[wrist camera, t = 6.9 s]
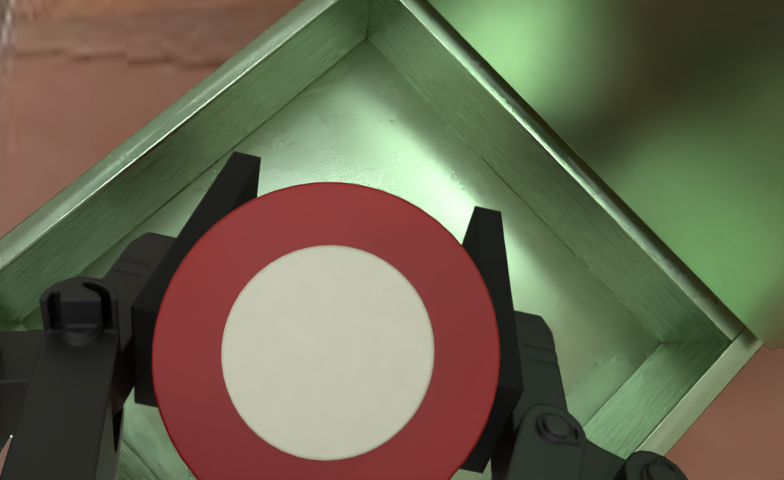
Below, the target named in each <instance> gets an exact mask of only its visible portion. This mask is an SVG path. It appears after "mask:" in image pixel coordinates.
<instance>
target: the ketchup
mask: <svg viewBox="0 0 784 480" xmlns="http://www.w3.org/2000/svg"><path fill="white" fill-rule="evenodd" d="M499 367H500V342H499V330H498V325H497V320H496V315H495V310H494V307H493V304H492V301H491V298H490V295H489V291H488V289H487V287H486V285H485V282H484V280H483V278H482V276H481V274H480V272H479V270H478V268H477V267H476V265H475V263H474V262H473V260H472V259H471V257H470V256H469V254H468V252H467V251H466V250H465V249H464V247H463V246H462V245H461V244H460V243H459V241H458V240H457V239H456V238H455V237H454V235H453V234H452V233H451V232H449V231H448V230H447V229H446V228H445V227H444V226H443V225H442V224H441V223H440V222H439V221H438V220H436V219H435V218H434V217H432V216H431V215H429V214H428V213H427V212H425V211H424V210H422V209H421V208H420V207H418V206H416V205H414V204H412V203H410V202H409V201H407V200H405V199H403V198H401V197H399V196H396V195H394V194H391V193H388V192H386V191H383V190H381V189H377V188H373V187H368V186H364V185H360V184H352V183H344V182H313V183H306V184H299V185H293V186H289V187H286V188H282V189H278V190H274V191H272V192H269V193H267V194H264V195H262V196H259V197H257V198H255V199H252V200H251V201H249V202H247V203H245V204H244V205H242V206H240V207H238V208H236V209H235V210H233V211H232V212H230V213H229V214H228V215H226V216H225V217H224V218H222V219H221V220H220V221H218V222H217V223H216V224H215V225H213V226H212V227H211V228H210V229H209V230H208V231H207V232H206V233H205V234H204V235H203V236H202V237H201V238H200V239H199V240H198V241H197V243H196V244H195V245H194V246H193V247H192V249H191V250H190V251H189V252H188V254H187V255H186V256H185V257H184V259H183V261H182V262H181V264H180V266H179V267H178V269H177V270H176V272H175V274H174V275H173V277H172V279H171V281H170V284H169V286H168V288H167V290H166V293H165V295H164V297H163V300H162V303H161V306H160V310H159V313H158V316H157V320H156V325H155V331H154V337H153V343H152V376H153V386H154V393H155V397H156V401H157V406H158V410H159V414H160V417H161V419H162V422H163V424H164V427H165V429H166V432H167V434H168V437H169V439H170V440H171V442H172V444H173V446H174V448H175V449H176V451H177V453H178V455H179V456H180V458H181V459H182V461H183V462H184V463H185V465H186V466H187V467H188V469H189V470H190V471H191V472H192V474H193V475H194V476H195V477H196V478H197V479H198V480H450V479H451V478H452V477H453V475H454V474H455V473H456V472H457V471H458V469H459V468H460V467H461V466H462V465H463V464H464V462H465V461H466V459H467V458H468V456H469V455H470V453H471V452H472V450H473V449H474V447H475V445H476V444H477V442H478V440H479V438H480V436H481V434H482V432H483V430H484V428H485V426H486V423H487V421H488V418H489V415H490V412H491V409H492V406H493V403H494V400H495V395H496V390H497V384H498V379H499Z"/></svg>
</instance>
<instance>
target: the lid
mask: <svg viewBox="0 0 784 480" xmlns="http://www.w3.org/2000/svg"><path fill="white" fill-rule="evenodd" d="M427 1H428V2H429V3H430V4H431V5H432V6H433V7H434V8H435V9H436V10H437V11H438V12H439V13H440V14H441V15H442V16H443V17H444V18H445V19H446V20H447V21H448V22H449V23H450V24H451V25H452V26H453V27H454V28H455V29H456V30H457V31H458V32H459V34H460V35H461V36H462V37H463V38H464V39H465V40H466V41H467V42H468V43H469V44H470V45H471V46H472V47H473V48H474V49H475V50H476V51H477V52H478V53H479V54H480V55H481V56H482V57H483V58H484V59H485V60H486V61H487V62H488V63H489V64H490V65H491V66H492V67H493V68H494V69H495V70H496V71H497V72H498V73H499V74H500V75H501V76H502V77H503V78H504V79H505V80H506V81H507V83H508V84H509V85H510V86H511V87H512V88H513V89H514V90H515V91H516V92H517V93H518V94H519V95H520V96H521V97H522V98H523V99H524V100H525V101H526V102H527V103H528V104H529V105H530V106H531V107H532V108H533V109H534V110H535V111H536V112H537V113H538V114H539V115H540V116H541V117H542V118H543V119H544V120H545V121H546V122H547V123H548V124H549V125H550V126H551V127H552V128H553V129H554V131H555V132H556V133H557V134H558V135H559V136H560V137H561V138H562V139H563V140H564V141H565V142H566V143H567V144H568V145H569V146H570V147H571V148H572V149H573V150H574V151H575V152H576V153H577V154H578V155H579V156H580V157H581V158H582V159H583V160H584V161H585V162H586V163H587V164H588V165H589V166H590V167H591V168H592V169H593V170H594V171H595V172H596V173H597V174H598V175H599V176H600V177H601V178H602V180H603V181H604V182H605V183H606V184H607V185H608V186H609V187H610V188H611V189H612V190H613V191H614V192H615V193H616V194H617V195H618V196H619V197H620V198H621V199H622V200H623V201H624V202H625V203H626V204H627V205H628V206H629V207H630V208H631V209H632V210H633V211H634V212H635V213H636V214H637V215H638V216H639V217H640V218H641V219H642V220H643V221H644V222H645V223H646V224H647V225H648V226H649V228H650V229H651V230H652V231H653V232H654V233H655V234H656V235H657V236H658V237H659V238H660V239H661V240H662V241H663V242H664V243H665V244H666V245H667V246H668V247H669V248H670V249H671V250H672V251H673V252H674V253H675V254H676V255H677V256H678V257H679V258H680V259H681V260H682V261H683V262H684V263H685V264H686V265H687V266H688V267H689V268H690V269H691V270H692V271H693V272H694V273H695V274H696V275H697V277H698V278H699V279H700V280H701V281H702V282H703V283H704V284H705V285H706V286H707V287H708V288H709V289H710V290H711V291H712V292H713V293H714V294H715V295H716V296H717V297H718V298H719V299H720V300H721V301H722V302H723V303H724V304H725V305H726V306H727V307H728V308H729V309H730V310H731V311H732V312H733V313H734V314H735V315H736V316H737V317H738V318H739V319H740V320H741V321H742V322H743V323H744V325H745V326H746V327H747V328H748V329H749V330H750V331H751V332H752V333H753V334H754V335H755V336H756V337H757V338H758V339H759V340H760V341H761V342H762V343H763V344H764V345H765V346H766V347H767V348H768V349H769V350H776V349H782V348H784V0H427Z"/></svg>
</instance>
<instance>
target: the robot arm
mask: <svg viewBox="0 0 784 480" xmlns="http://www.w3.org/2000/svg"><path fill="white" fill-rule="evenodd" d="M260 164H261V157H258V156H253V155H249V154H244V153H240V152H235V151H234V152H233V153H232V155H231V156H230V158H229V159H228V161H227V162H226V164H225V165H224V167H223V168H222V170H221V171H220V173H219V174H218V176H217V177H216V179H215V180H214V182H213V183H212V185H211V186H210V188H209V189H208V191H207V192H206V194H205V195H204V197H203V198H202V200H201V201H200V203H199V204H198V206H197V207H196V209H195V210H194V212H193V214H192V215H191V217H190V218H189V220H188V221H187V223H186V224H185V226H184V227H183V229H182V230H181V232H180V233H179V235H178V236H177V238H175V237H170V236H166V235H161V234H156V233H152V232H147V233H145V234H143V235H142V236H140V237H138V238H136V239H135V240H133V241H131V242H130V243H129V244H128V246H127V247H126V248H125V250H124V251H123V252H122V254H121V255H120V257H119V259H117V260H116V261H115V263H114V264H113V265H112V267H111V270H108V272H107V273H106V274H105V276H104V277H103V278H102V280H101V279H98V278H91V277H77V278H69V279H66V280H63V281H60V282H57V283H55V284H54V285H52V286H51V287H49V288H48V289H46V290H45V291H44V293H43V294H42V296H41V297H40V299H39V302H40V309H41V315H42V322H43V328H44V329H39V330H29V331H0V452H1V450H2V449H3V447H4V446H5V444H6V442H7V441H8V439H9V438H10V436H11V435H13V436H12V439H11V442H10V446H9V449H8V452H7V456H6V459H5V462H4V465H3V469H2V472H1V475H0V480H116V475H117V468H118V461H119V454H120V447H121V440H122V433H123V425H124V418H125V416H124V403H125V402H126V400H127V398H128V396H129V394H130V393H131V391H132V389H133V387H134V403H136V404H141V405H146V406H151V407H156V408H158V406H157V401H156V397H155V393H154V386H153V376H152V343H153V337H154V331H155V325H156V320H157V316H158V313H159V310H160V306H161V303H162V300H163V297H164V295H165V293H166V290H167V288H168V286H169V284H170V281H171V279H172V277H173V275H174V274H175V272H176V270H177V269H178V267H179V266H180V264H181V262H182V261H183V259H184V257H185V256H186V255H187V254H188V252H189V251H190V250H191V249H192V247H193V246H194V245H195V244H196V243H197V241H198V240H199V239H200V238H201V237H202V236H203V235H204V234H205V233H206V232H207V231H208V230H209V229H210V228H211V227H212V226H213V225H215V224H216V223H217V222H218V221H220V220H221V219H222V218H224V217H225V216H226V215H228V214H229V213H230V212H232V211H233V210H235V209H236V208H238V207H240V206H242V205H244V204H245V203H247V202H249V201H251V200H252V199H255V198H257V194H258V184H259V174H260ZM462 246H463V247H464V249H465V250H466V251H467V252H468V254H469V256H470V257H471V259H472V260H473V262H474V263H475V265H476V267H477V268H478V270H479V272H480V274H481V276H482V278H483V280H484V282H485V285H486V287H487V289H488V291H489V295H490V298H491V301H492V304H493V307H494V310H495V315H496V320H497V325H498V330H499V342H500V367H499V379H498V384H497V390H496V395H495V400H494V403H493V406H492V409H491V412H490V415H489V418H488V421H487V423H486V426H485V428H484V430H483V432H482V434H481V436H480V438H479V440H478V442H477V444H476V445H475V447H474V449H473V450H472V452H471V453H470V455H469V456H468V458H467V459H466V461H465V462H464V464H463V465H462V466H461V467H460V468H459V469H462V470H467V471H472V472H477V473H482V474H483V472H484V470H485V468H486V466H487V464H488V462H489V460H491V476H492V477H491V479H490V480H688V479H687V477H686V476H685V475H684V474H683V472H682V471H681V470H680V469H679V468H678V467H677V466H676V465H675V464H674V463H672V462H671V461H670V460H668V459H667V458H666V457H664V456H662V455H659V454H657V453H654V452H652V451H643V450H639V451H636V452H633V453H631V454H630V455H629V457H628V458H627V459H626V460H625V459H623V458H621V457H619V456H617V455H615V454H613V453H611V452H609V451H607V450H605V449H603V448H601V447H599V446H597V445H596V444H594V443H592V442H591V441H589V440H588V439H587V438H586V435H585V432H584V430H583V428H582V426H581V424H580V423H579V422H578V421H577V420H576V419H575V418H574V417H573V416H572V414H570V413H569V412H568V408H567V403H566V398H565V393H564V388H563V383H562V378H561V373H560V368H559V365H558V358H557V353H556V351H555V343H554V338H553V333H552V331H551V329H550V328H549V327H548V325H547V324H546V322H545V321H544V319H543V318H542V316H539V315H534V314H530V313H525V312H521V311H516V310H514V307H513V299H512V292H511V284H510V276H509V269H508V261H507V253H506V246H505V238H504V230H503V223H502V215H501V212H500V211H496V210H492V209H487V208H483V207H478V206H475V207H474V210H473V213H472V216H471V218H470V221H469V224H468V227H467V230H466V233H465V236H464V239H463V242H462Z"/></svg>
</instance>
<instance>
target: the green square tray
mask: <svg viewBox="0 0 784 480" xmlns="http://www.w3.org/2000/svg"><path fill="white" fill-rule="evenodd" d="M234 151H235V152H240V153H244V154H249V155H253V156H258V157H261V164H260V174H259V184H258V194H257V197H259V196H262V195H264V194H267V193H269V192H272V191H274V190H278V189H282V188H286V187H289V186H293V185H299V184H306V183H313V182H344V183H352V184H360V185H364V186H368V187H373V188H377V189H381V190H383V191H386V192H388V193H391V194H394V195H396V196H399V197H401V198H403V199H405V200H407V201H409V202H410V203H412V204H414V205H416V206H418V207H420V208H421V209H422V210H424V211H425V212H427V213H428V214H429V215H431V216H432V217H434V218H435V219H436V220H438V221H439V222H440V223H441V224H442V225H443V226H444V227H445V228H446V229H447V230H448V231H449V232H451V233H452V234H453V235H454V237H455V238H456V239H457V240H458V241H459V243H460V244H461V245H462V242H463V239H464V236H465V233H466V230H467V227H468V224H469V221H470V218H471V216H472V213H473V210H474V207H475V206H478V207H483V208H487V209H492V210H496V211H500V212H501V215H502V223H503V230H504V238H505V246H506V253H507V261H508V269H509V276H510V284H511V292H512V299H513V307H514V310H516V311H521V312H525V313H530V314H534V315H539V316H542V318H543V319H544V321H545V322H546V324H547V325H548V327H549V328H550V329H551V331H552V333H553V338H554V343H555V351H556V353H557V358H558V365H559V368H560V373H561V378H562V383H563V388H564V393H565V398H566V403H567V408H568V412H569V413H570V414H572V416H573V417H574V418H575V419H576V420H577V421H578V422H579V423H580V424H581V426H582V428H583V430H584V432H585V435H586V438H587V439H588V440H589V441H591V442H592V443H594V444H596V445H597V446H599V447H601V448H603V449H605V450H607V451H609V452H611V453H613V454H615V455H617V456H619V457H621V458H623V459H625V460H626V459H627V458H628V457H629V455H630V454H631V453H633V452H636V451H639V450H643V451H652V452H654V453H657V454H659V455H662V456H665V455H666V454H667V453H668V452H669V450H670V449H671V448H672V447H673V446H674V445H675V444H676V443H677V441H678V440H679V439H680V438H681V437H682V436H683V435H684V433H685V432H686V431H687V430H688V429H689V428H690V427H691V426H692V424H693V423H694V422H695V421H696V420H697V419H698V418H699V417H700V415H701V414H702V413H703V412H704V411H705V410H706V409H707V407H708V406H709V405H710V404H711V403H712V402H713V401H714V400H715V398H716V397H717V396H718V395H719V394H720V393H721V392H722V391H723V389H724V388H725V387H726V386H727V385H728V384H729V383H730V381H731V380H732V379H733V378H734V377H735V376H736V375H737V374H738V372H739V371H740V370H741V369H742V368H743V367H744V366H745V364H746V363H747V362H748V361H749V360H750V359H751V358H752V357H753V355H754V354H755V353H756V352H757V351H758V350H759V349H760V348H761V346H762V345H763V343H762V342H761V341H760V340H759V339H758V338H757V337H756V336H755V335H754V334H753V333H752V332H751V331H750V330H749V329H748V328H747V327H746V326H745V325H744V323H743V322H742V321H741V320H740V319H739V318H738V317H737V316H736V315H735V314H734V313H733V312H732V311H731V310H730V309H729V308H728V307H727V306H726V305H725V304H724V303H723V302H722V301H721V300H720V299H719V298H718V297H717V296H716V295H715V294H714V293H713V292H712V291H711V290H710V289H709V288H708V287H707V286H706V285H705V284H704V283H703V282H702V281H701V280H700V279H699V278H698V277H697V275H696V274H695V273H694V272H693V271H692V270H691V269H690V268H689V267H688V266H687V265H686V264H685V263H684V262H683V261H682V260H681V259H680V258H679V257H678V256H677V255H676V254H675V253H674V252H673V251H672V250H671V249H670V248H669V247H668V246H667V245H666V244H665V243H664V242H663V241H662V240H661V239H660V238H659V237H658V236H657V235H656V234H655V233H654V232H653V231H652V230H651V229H650V228H649V226H648V225H647V224H646V223H645V222H644V221H643V220H642V219H641V218H640V217H639V216H638V215H637V214H636V213H635V212H634V211H633V210H632V209H631V208H630V207H629V206H628V205H627V204H626V203H625V202H624V201H623V200H622V199H621V198H620V197H619V196H618V195H617V194H616V193H615V192H614V191H613V190H612V189H611V188H610V187H609V186H608V185H607V184H606V183H605V182H604V181H603V180H602V178H601V177H600V176H599V175H598V174H597V173H596V172H595V171H594V170H593V169H592V168H591V167H590V166H589V165H588V164H587V163H586V162H585V161H584V160H583V159H582V158H581V157H580V156H579V155H578V154H577V153H576V152H575V151H574V150H573V149H572V148H571V147H570V146H569V145H568V144H567V143H566V142H565V141H564V140H563V139H562V138H561V137H560V136H559V135H558V134H557V133H556V132H555V131H554V129H553V128H552V127H551V126H550V125H549V124H548V123H547V122H546V121H545V120H544V119H543V118H542V117H541V116H540V115H539V114H538V113H537V112H536V111H535V110H534V109H533V108H532V107H531V106H530V105H529V104H528V103H527V102H526V101H525V100H524V99H523V98H522V97H521V96H520V95H519V94H518V93H517V92H516V91H515V90H514V89H513V88H512V87H511V86H510V85H509V84H508V83H507V81H506V80H505V79H504V78H503V77H502V76H501V75H500V74H499V73H498V72H497V71H496V70H495V69H494V68H493V67H492V66H491V65H490V64H489V63H488V62H487V61H486V60H485V59H484V58H483V57H482V56H481V55H480V54H479V53H478V52H477V51H476V50H475V49H474V48H473V47H472V46H471V45H470V44H469V43H468V42H467V41H466V40H465V39H464V38H463V37H462V36H461V35H460V34H459V32H458V31H457V30H456V29H455V28H454V27H453V26H452V25H451V24H450V23H449V22H448V21H447V20H446V19H445V18H444V17H443V16H442V15H441V14H440V13H439V12H438V11H437V10H436V9H435V8H434V7H433V6H432V5H431V4H430V3H429V2H428V1H427V0H304V1H302V2H301V3H300V4H298V5H297V6H296V7H295V8H293V9H292V10H291V11H290V12H288V13H287V14H286V15H284V16H283V17H282V18H281V19H279V20H278V21H277V22H276V23H274V24H273V25H272V26H270V27H269V28H268V29H267V30H265V31H264V32H263V33H262V34H260V35H259V36H258V37H256V38H255V39H254V40H253V41H251V42H250V43H249V44H248V45H246V46H245V47H244V48H242V49H241V50H240V51H239V52H237V53H236V54H235V55H234V56H232V57H231V58H230V59H228V60H227V61H226V62H225V63H223V64H222V65H221V66H220V67H218V68H217V69H216V70H214V71H213V72H212V73H211V74H209V75H208V76H207V77H206V78H204V79H203V80H202V81H200V82H199V83H198V84H197V85H195V86H194V87H193V88H192V89H190V90H189V91H188V92H186V93H185V94H184V95H183V96H181V97H180V98H179V99H178V100H176V101H175V102H174V103H172V104H171V105H170V106H169V107H167V108H166V109H165V110H164V111H162V112H161V113H160V114H158V115H157V116H156V117H155V118H153V119H152V120H151V121H150V122H148V123H147V124H146V125H144V126H143V127H142V128H141V129H139V130H138V131H137V132H136V133H134V134H133V135H132V136H130V137H129V138H128V139H127V140H125V141H124V142H123V143H122V144H120V145H119V146H118V147H116V148H115V149H114V150H113V151H111V152H110V153H109V154H108V155H106V156H105V157H104V158H102V159H101V160H100V161H99V162H97V163H96V164H95V165H94V166H92V167H91V168H90V169H88V170H87V171H86V172H85V173H83V174H82V175H81V176H80V177H78V178H77V179H76V180H74V181H73V182H72V183H71V184H69V185H68V186H67V187H66V188H64V189H63V190H62V191H60V192H59V193H58V194H57V195H55V196H54V197H53V198H52V199H50V200H49V201H48V202H46V203H45V204H44V205H43V206H41V207H40V208H39V209H38V210H36V211H35V212H34V213H32V214H31V215H30V216H29V217H27V218H26V219H25V220H24V221H22V222H21V223H20V224H18V225H17V226H16V227H15V228H13V229H12V230H11V231H10V232H8V233H7V234H6V235H4V236H3V237H2V238H1V239H0V331H29V330H39V329H44V328H43V322H42V315H41V309H40V302H39V299H40V297H41V296H42V294H43V293H44V291H45V290H46V289H48V288H49V287H51V286H52V285H54V284H55V283H57V282H60V281H63V280H66V279H69V278H77V277H91V278H98V279H101V280H102V278H103V277H104V276H105V274H106V273H107V272H108V270H111V267H112V265H113V264H114V263H115V261H116V260H117V259H119V257H120V255H121V254H122V252H123V251H124V250H125V248H126V247H127V246H128V244H129V243H130V242H131V241H133V240H135V239H136V238H138V237H140V236H142V235H143V234H145V233H147V232H152V233H156V234H161V235H166V236H170V237H175V238H177V236H178V235H179V233H180V232H181V230H182V229H183V227H184V226H185V224H186V223H187V221H188V220H189V218H190V217H191V215H192V214H193V212H194V210H195V209H196V207H197V206H198V204H199V203H200V201H201V200H202V198H203V197H204V195H205V194H206V192H207V191H208V189H209V188H210V186H211V185H212V183H213V182H214V180H215V179H216V177H217V176H218V174H219V173H220V171H221V170H222V168H223V167H224V165H225V164H226V162H227V161H228V159H229V158H230V156H231V155H232V153H233V152H234ZM124 416H125V418H124V425H123V433H122V440H121V447H120V454H119V461H118V468H117V475H116V480H198V479H197V478H196V477H195V476H194V475H193V474H192V472H191V471H190V470H189V469H188V467H187V466H186V465H185V463H184V462H183V461H182V459H181V458H180V456H179V455H178V453H177V451H176V449H175V448H174V446H173V444H172V442H171V440H170V439H169V437H168V434H167V432H166V429H165V427H164V424H163V422H162V419H161V417H160V414H159V410H158V408H156V407H151V406H146V405H141V404H136V403H134V387H133V389H132V391H131V393H130V394H129V396H128V398H127V400H126V402H125V403H124ZM12 436H13V435H11V436H10V438H11V439H12ZM491 477H492V476H491V460H489V462H488V464H487V466H486V468H485V470H484V472H483V474H482V473H477V472H472V471H467V470H462V469H458V471H457V472H456V473H455V474H454V475H453V477H452V478H451V479H450V480H490V479H491Z"/></svg>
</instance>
